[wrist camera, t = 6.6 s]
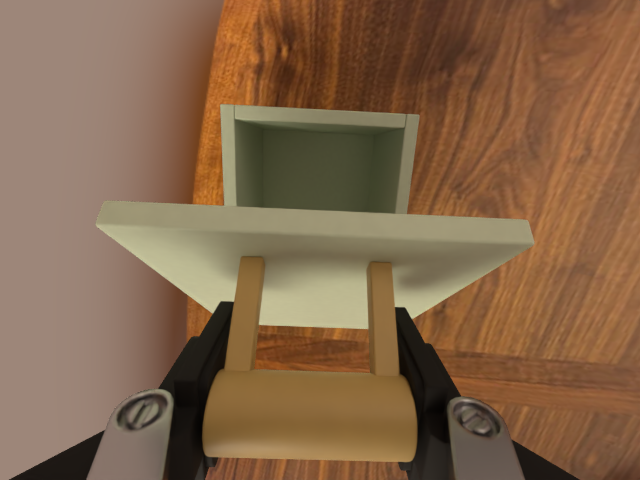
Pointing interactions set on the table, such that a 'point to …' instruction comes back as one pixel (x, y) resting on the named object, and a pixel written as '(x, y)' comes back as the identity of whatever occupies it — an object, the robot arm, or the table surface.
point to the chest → (317, 158)
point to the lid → (312, 311)
